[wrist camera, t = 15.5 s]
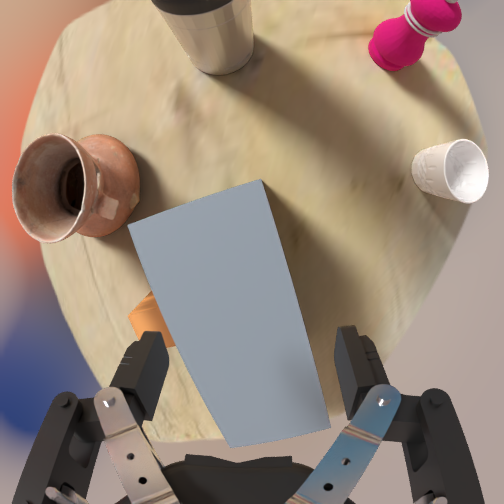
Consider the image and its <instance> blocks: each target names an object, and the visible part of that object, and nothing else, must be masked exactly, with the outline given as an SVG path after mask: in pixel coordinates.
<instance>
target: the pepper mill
mask: <svg viewBox="0 0 504 504" xmlns="http://www.w3.org/2000/svg"><path fill="white" fill-rule="evenodd" d="M461 17H462V14H461V9H460V7H459V4H458V2H457V0H410V2H409V3H408V5H407V6H406V7H405V9H404V15H402V16H401V17H398V18H393V19H388V20H386V21H383V22H382V23H381V24H379V25H378V26H377V28H376V29H375V31H374V35H373V38H372V39H371V40H370V42H369V46H368V49H369V53H370V56H371V58H372V59H373V60H374V62H375V63H376V64H378V65H379V66H380V67H382V68H384V69H386V70H390V71H397V70H400V69H402V68H403V67H404V66H409V65H412V64H414V63H416V62H417V61H418V60H419V59H420V58H421V56H422V53H423V51H424V45H425V42H426V40H427V39H428V38H429V37H436V36H438V35H439V34H440V33H442V32H448V31H452V30H454V29H455V28H456V27H457V26H458V25H459V23H460V21H461Z"/></svg>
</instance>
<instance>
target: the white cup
mask: <svg viewBox="0 0 504 504" xmlns="http://www.w3.org/2000/svg"><path fill="white" fill-rule="evenodd" d="M412 176H413V179H414V182H415V184H416V185H417V186H418V187H419V188H420V189H421V190H422V191H424V192H427V193H429V194H433V195H435V196H439V197H442V198H446V199H451V200H455V201H459V202H463V203H474V202H476V201H478V200H479V199H480V198H481V197H482V196H483V194H484V193H485V191H486V188H487V185H488V179H489V171H488V165H487V161H486V158H485V156H484V154H483V152H482V151H481V149H480V148H479V147H478V146H477V145H476V144H475V143H474V142H472V141H470V140H467V139H459V140H455V141H451V142H447V143H443V144H439V145H435V146H432V147H430V148H427V149H423V150H421V151H420V152H418V153H417V154H416V155H415V157H414V159H413V162H412Z"/></svg>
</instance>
